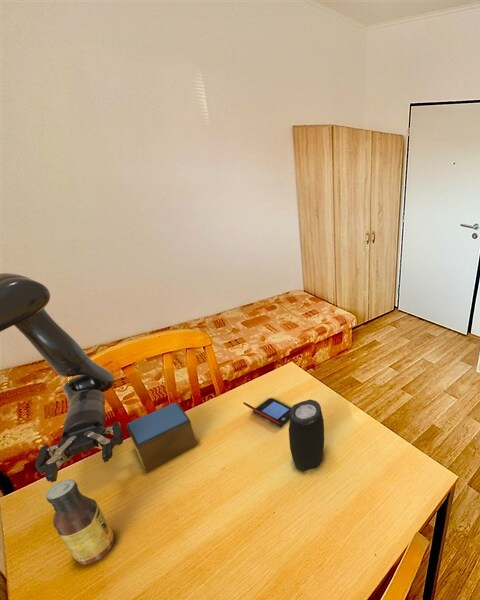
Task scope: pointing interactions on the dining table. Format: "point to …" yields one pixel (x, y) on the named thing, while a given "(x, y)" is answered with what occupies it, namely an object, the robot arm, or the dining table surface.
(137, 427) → the mat
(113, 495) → the dining table surface
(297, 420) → the portable speaker
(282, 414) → the handheld console
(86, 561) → the sauce bottle
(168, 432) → the blue topped brown block
